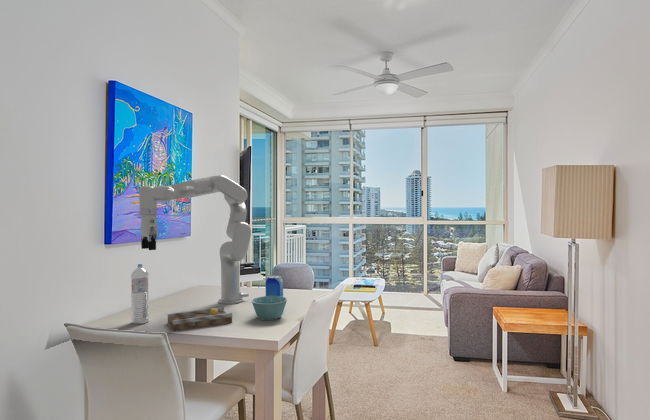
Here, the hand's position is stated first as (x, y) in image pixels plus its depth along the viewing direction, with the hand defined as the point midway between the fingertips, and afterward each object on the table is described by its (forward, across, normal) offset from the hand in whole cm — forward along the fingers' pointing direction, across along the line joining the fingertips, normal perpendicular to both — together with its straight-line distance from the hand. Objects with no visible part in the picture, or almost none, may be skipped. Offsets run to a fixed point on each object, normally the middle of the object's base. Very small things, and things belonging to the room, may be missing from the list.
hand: (148, 249), depth 196 cm
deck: (+30, -32, -10) cm, 45 cm away
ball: (+26, -33, -16) cm, 45 cm away
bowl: (+31, -44, -37) cm, 66 cm away
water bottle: (+30, -14, +9) cm, 34 cm away
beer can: (+31, -33, -48) cm, 66 cm away
